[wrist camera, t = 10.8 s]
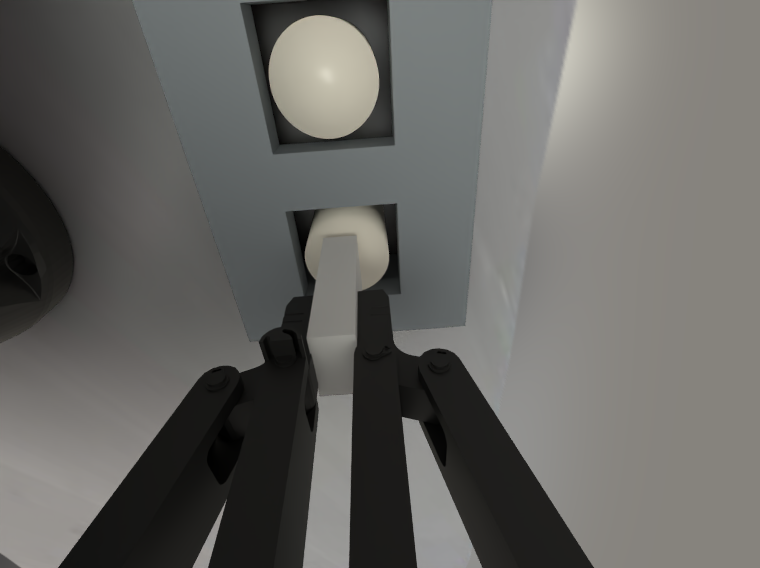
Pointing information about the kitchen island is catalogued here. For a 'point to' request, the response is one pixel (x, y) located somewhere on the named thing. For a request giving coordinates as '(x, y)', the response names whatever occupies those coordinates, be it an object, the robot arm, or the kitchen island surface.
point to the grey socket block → (330, 153)
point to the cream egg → (324, 76)
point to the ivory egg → (350, 223)
